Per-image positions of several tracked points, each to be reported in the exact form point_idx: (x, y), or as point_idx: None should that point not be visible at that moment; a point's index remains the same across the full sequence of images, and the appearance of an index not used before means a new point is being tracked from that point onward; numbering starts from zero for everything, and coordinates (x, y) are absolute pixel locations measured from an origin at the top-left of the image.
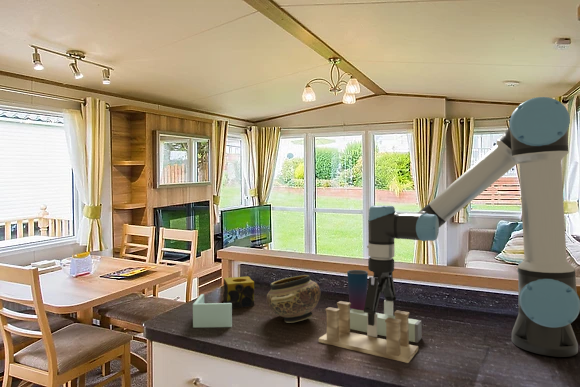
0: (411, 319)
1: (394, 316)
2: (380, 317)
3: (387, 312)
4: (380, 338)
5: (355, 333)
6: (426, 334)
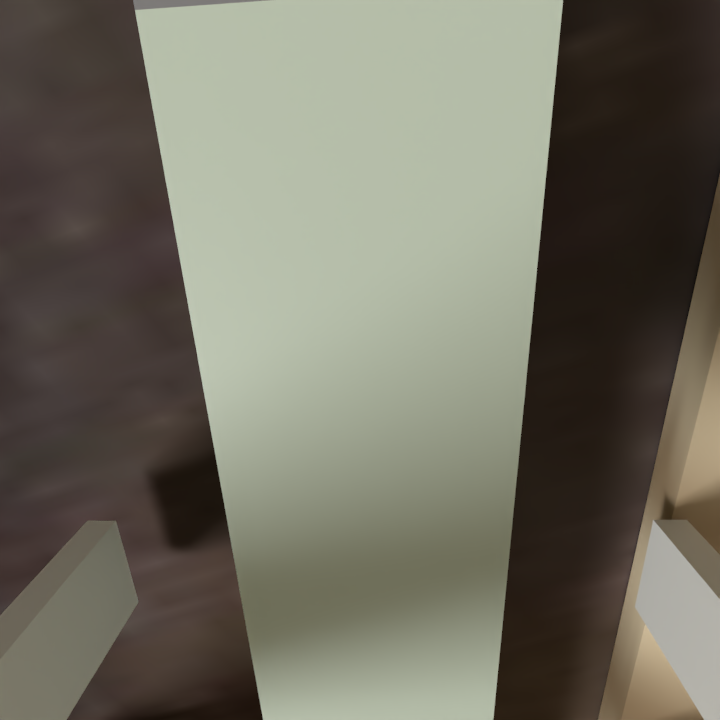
0: (221, 212)
1: (268, 566)
2: (461, 713)
3: (53, 680)
4: (682, 473)
5: (636, 693)
6: (78, 40)
